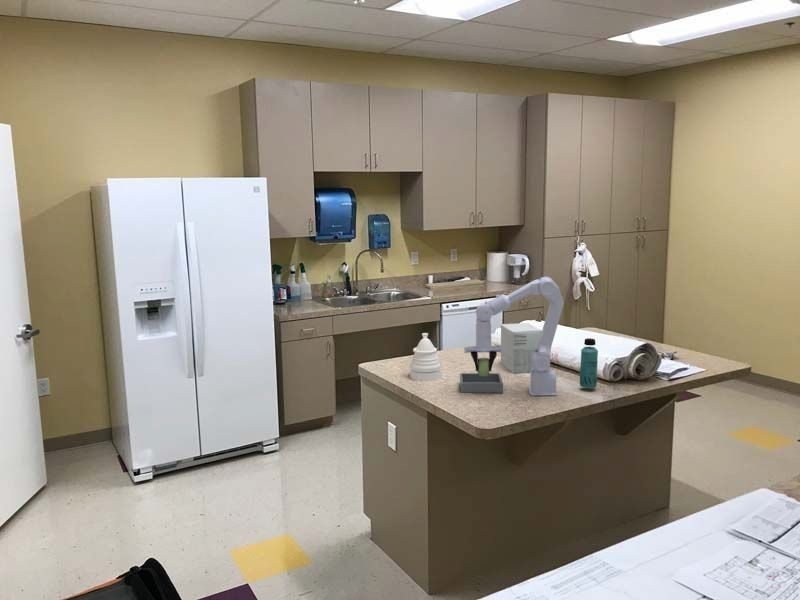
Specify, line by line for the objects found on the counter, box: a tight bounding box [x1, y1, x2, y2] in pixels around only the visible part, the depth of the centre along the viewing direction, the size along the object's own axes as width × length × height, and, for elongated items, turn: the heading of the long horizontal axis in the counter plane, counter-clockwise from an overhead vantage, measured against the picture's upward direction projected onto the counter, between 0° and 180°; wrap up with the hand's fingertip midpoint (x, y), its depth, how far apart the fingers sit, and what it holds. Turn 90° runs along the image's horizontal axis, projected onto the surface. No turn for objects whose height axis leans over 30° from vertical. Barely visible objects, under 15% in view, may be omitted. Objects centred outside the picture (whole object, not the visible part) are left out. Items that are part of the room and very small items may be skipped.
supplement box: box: [500, 322, 543, 374], centre depth 282 cm, size 17×13×18 cm
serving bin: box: [459, 372, 504, 395], centre depth 255 cm, size 16×14×4 cm
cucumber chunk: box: [477, 357, 490, 376], centre depth 249 cm, size 4×4×6 cm
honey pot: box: [409, 332, 442, 382], centre depth 271 cm, size 13×13×18 cm
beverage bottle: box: [579, 337, 599, 389], centre depth 249 cm, size 6×7×20 cm
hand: (483, 370), depth 249 cm, fingers closed on cucumber chunk, 4 cm apart
